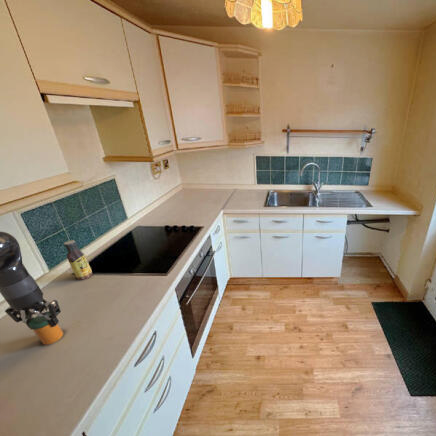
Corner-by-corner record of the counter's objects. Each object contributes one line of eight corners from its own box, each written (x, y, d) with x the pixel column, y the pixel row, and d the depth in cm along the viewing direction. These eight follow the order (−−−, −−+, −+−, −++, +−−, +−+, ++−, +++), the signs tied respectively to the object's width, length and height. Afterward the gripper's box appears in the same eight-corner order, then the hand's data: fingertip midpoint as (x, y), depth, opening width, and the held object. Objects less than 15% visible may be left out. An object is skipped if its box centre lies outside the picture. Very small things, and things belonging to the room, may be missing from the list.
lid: (39, 330, 77) (37, 327, 77) (25, 328, 78) (23, 324, 78) (58, 316, 82) (56, 313, 82) (45, 314, 84) (43, 311, 83)
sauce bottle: (87, 280, 112) (70, 246, 104) (74, 280, 112) (55, 246, 103) (96, 271, 118) (81, 238, 110) (84, 272, 118) (67, 239, 109)
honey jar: (45, 347, 80) (32, 329, 76) (40, 340, 83) (27, 322, 79) (65, 335, 85) (54, 317, 81) (60, 329, 87) (49, 311, 83)
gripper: (-18, 301, 70) (12, 338, 77) (36, 295, 72) (60, 332, 79) (6, 284, 76) (31, 320, 84) (54, 279, 78) (75, 315, 86)
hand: (45, 325), depth 81 cm, fingers closed on lid, 5 cm apart
